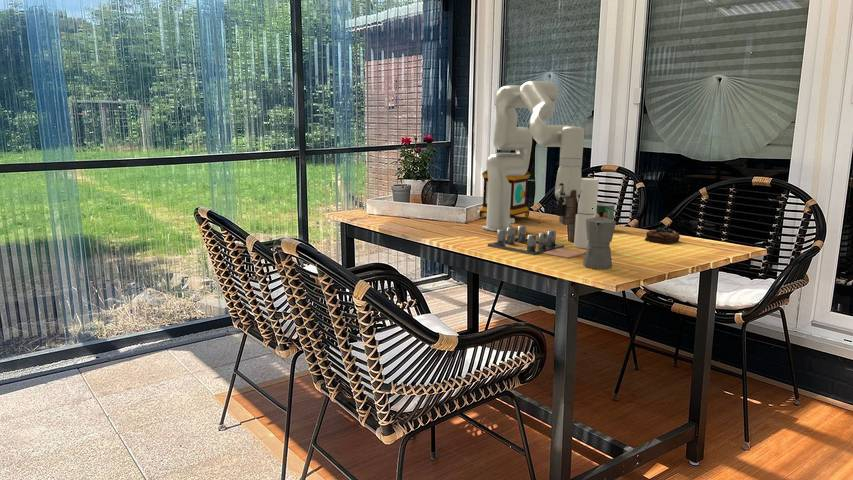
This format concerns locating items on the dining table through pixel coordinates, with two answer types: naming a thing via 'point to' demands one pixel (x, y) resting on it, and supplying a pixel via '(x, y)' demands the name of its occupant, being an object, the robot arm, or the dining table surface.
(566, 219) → the box
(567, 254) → the mat
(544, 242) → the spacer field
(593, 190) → the white tall block
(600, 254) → the coffeepot
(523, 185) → the decorative lantern
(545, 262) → the dining table surface
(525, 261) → the dining table surface
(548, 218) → the dining table surface
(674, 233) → the pastry
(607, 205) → the canned tomato
